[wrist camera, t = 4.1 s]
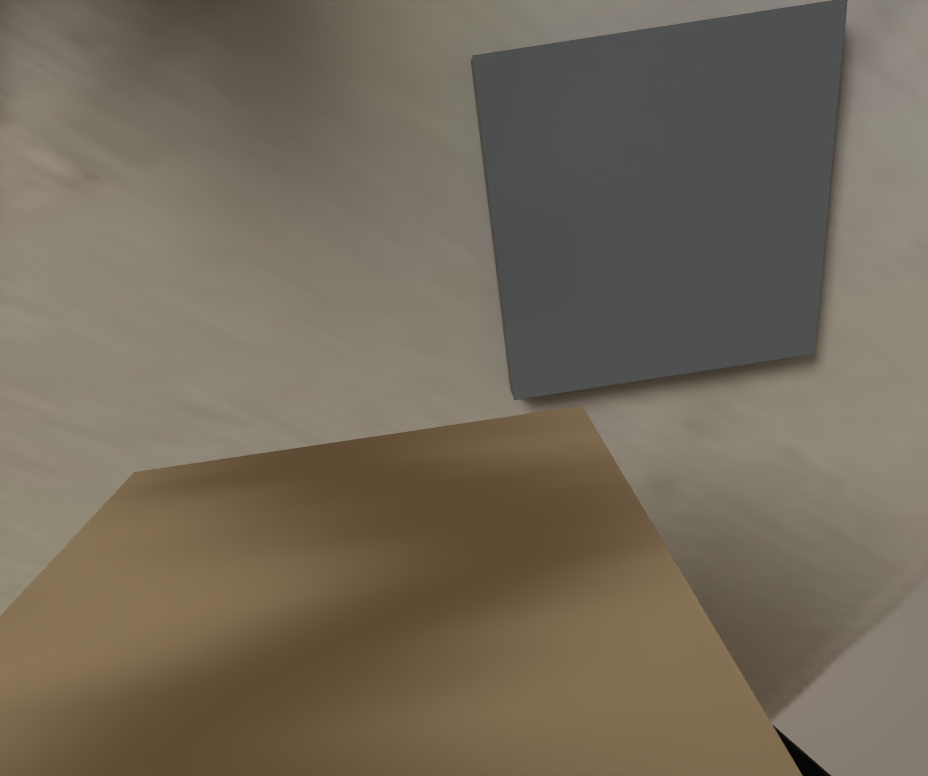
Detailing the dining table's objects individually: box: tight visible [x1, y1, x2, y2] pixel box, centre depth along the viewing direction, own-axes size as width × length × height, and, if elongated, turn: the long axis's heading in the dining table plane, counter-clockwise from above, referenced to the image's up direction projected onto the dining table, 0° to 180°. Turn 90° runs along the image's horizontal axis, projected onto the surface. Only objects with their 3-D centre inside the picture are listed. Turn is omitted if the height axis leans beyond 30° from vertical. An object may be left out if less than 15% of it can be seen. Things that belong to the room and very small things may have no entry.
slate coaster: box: [471, 0, 847, 400], centre depth 16 cm, size 9×9×1 cm
